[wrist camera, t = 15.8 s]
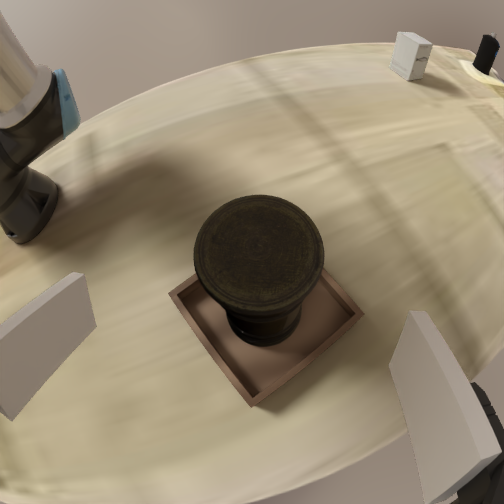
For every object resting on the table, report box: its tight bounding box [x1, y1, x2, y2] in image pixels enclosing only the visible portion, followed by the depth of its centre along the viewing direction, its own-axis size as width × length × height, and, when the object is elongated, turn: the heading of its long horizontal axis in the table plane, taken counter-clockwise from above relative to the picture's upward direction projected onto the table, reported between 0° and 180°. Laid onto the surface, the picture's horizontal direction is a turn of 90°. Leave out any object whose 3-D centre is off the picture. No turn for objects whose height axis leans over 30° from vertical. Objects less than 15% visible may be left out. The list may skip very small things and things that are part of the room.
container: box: [194, 195, 324, 347], centre depth 26 cm, size 9×9×18 cm
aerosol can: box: [473, 32, 500, 75], centre depth 57 cm, size 8×8×20 cm
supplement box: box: [389, 32, 433, 81], centre depth 52 cm, size 7×7×13 cm
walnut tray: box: [168, 268, 364, 408], centre depth 34 cm, size 17×17×3 cm
